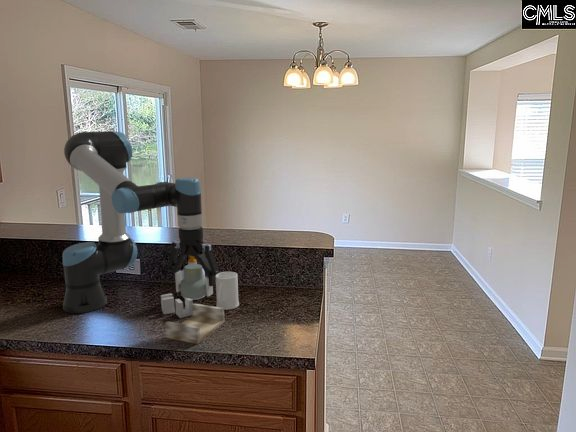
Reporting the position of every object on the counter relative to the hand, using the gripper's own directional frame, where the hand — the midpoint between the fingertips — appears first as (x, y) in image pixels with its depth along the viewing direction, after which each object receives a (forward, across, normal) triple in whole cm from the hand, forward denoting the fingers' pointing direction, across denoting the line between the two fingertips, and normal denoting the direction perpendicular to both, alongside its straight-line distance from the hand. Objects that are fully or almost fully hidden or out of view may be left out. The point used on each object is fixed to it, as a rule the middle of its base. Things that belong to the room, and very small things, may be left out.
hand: (194, 292), depth 141 cm
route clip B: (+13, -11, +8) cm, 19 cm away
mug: (+13, 0, +20) cm, 23 cm away
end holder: (+13, 0, 0) cm, 13 cm away
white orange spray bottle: (+13, -17, +24) cm, 33 cm away
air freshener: (+1, 0, 0) cm, 1 cm away
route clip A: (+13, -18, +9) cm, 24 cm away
